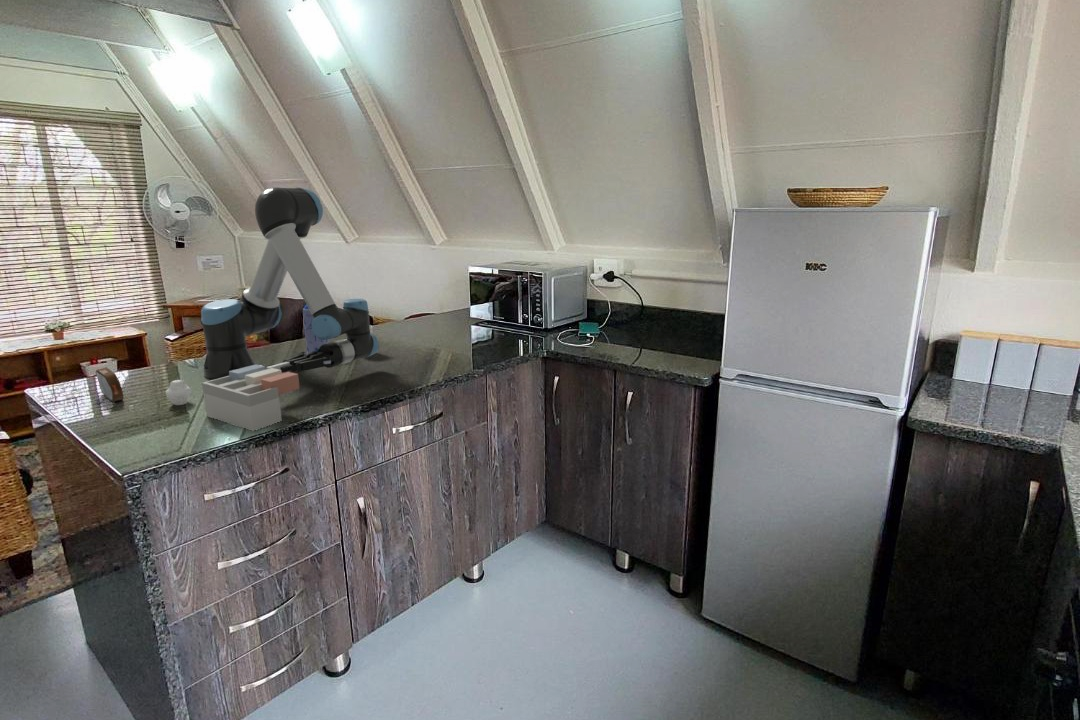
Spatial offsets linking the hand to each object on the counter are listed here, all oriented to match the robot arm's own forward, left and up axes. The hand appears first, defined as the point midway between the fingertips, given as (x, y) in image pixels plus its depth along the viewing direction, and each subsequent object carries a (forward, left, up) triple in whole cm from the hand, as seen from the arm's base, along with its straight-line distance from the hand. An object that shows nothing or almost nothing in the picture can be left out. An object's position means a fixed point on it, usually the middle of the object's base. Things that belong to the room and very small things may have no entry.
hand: (268, 372), depth 165 cm
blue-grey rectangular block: (-3, -5, -2) cm, 6 cm away
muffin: (-25, -3, -9) cm, 26 cm away
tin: (-47, +1, -9) cm, 48 cm away
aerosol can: (-8, +53, -9) cm, 54 cm away
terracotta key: (+9, -12, -2) cm, 15 cm away
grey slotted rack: (-1, -14, -8) cm, 17 cm away
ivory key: (+3, -8, -2) cm, 9 cm away
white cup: (+9, +53, -9) cm, 55 cm away
